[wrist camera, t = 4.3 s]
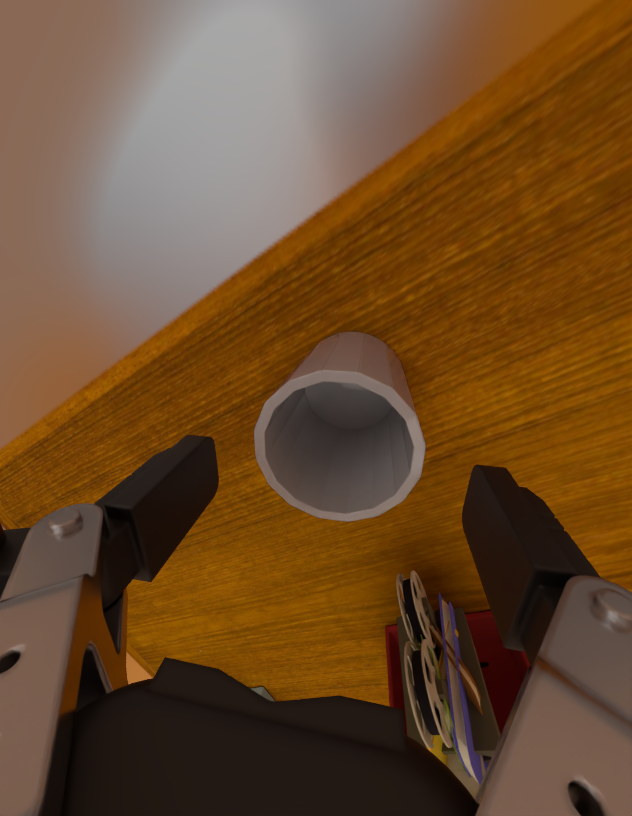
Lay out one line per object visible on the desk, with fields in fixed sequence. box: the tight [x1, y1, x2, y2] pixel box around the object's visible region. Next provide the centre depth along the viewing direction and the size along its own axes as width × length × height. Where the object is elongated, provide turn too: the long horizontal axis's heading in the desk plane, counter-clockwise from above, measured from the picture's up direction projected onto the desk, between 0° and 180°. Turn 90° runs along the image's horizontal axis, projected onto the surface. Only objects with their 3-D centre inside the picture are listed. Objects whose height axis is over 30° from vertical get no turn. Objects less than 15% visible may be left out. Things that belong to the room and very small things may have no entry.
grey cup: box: [254, 332, 426, 522], centre depth 15 cm, size 6×6×8 cm
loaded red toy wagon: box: [385, 571, 530, 798], centre depth 17 cm, size 17×9×20 cm
